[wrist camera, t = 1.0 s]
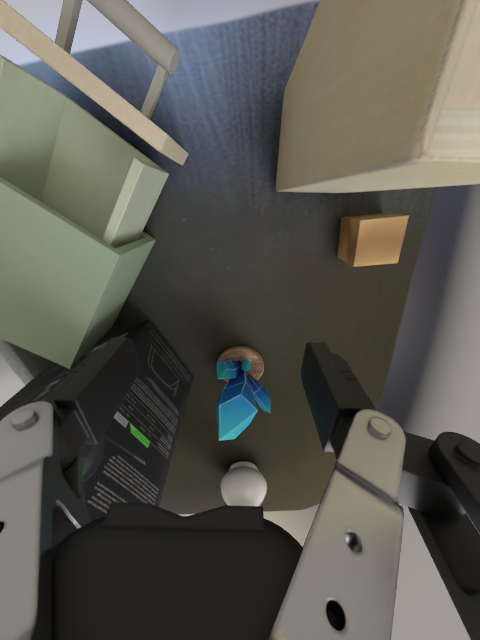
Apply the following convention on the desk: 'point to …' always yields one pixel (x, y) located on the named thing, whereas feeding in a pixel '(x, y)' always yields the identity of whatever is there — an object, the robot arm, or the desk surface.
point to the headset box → (128, 424)
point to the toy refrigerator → (383, 98)
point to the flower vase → (243, 485)
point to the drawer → (84, 128)
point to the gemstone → (239, 390)
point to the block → (371, 239)
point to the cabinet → (59, 279)
